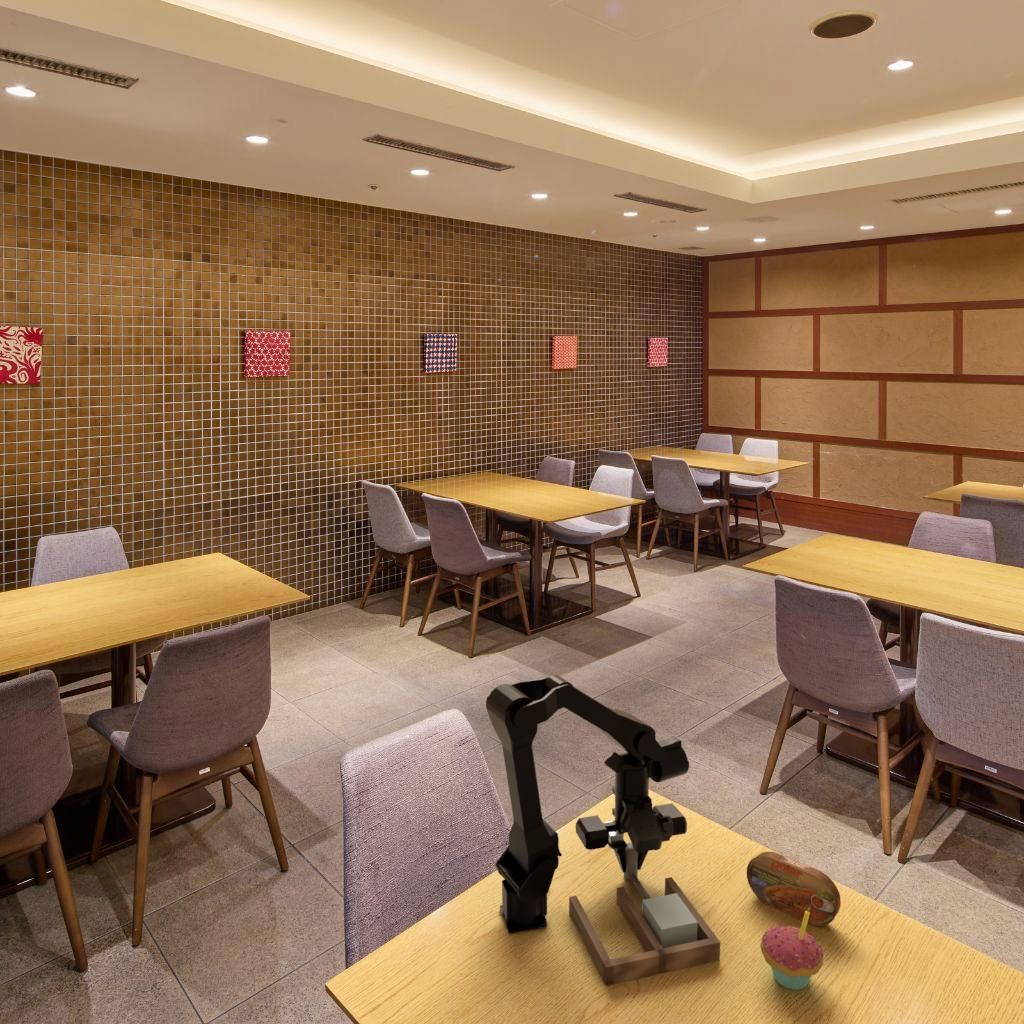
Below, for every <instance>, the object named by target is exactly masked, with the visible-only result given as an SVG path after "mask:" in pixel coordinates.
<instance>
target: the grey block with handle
mask: <svg viewBox="0 0 1024 1024" xmlns="http://www.w3.org/2000/svg"><path fill="white" fill-rule="evenodd" d="M626 844H627V845H628V846H627V847H626V848H625V854H626V872H625V873H623V879H624V881H626V882H628V883H633V884H634V886H635V887H636V889H637V890H638V891H639V893H640V895H641V896H642V898H643V899H642V900H641V902H642V904H641V905H642V906H641V908H642V909H641V914H642V916H643V918H644V919H645V921H646V922H647V924H648V925H649V927H650V928H651V930H652V932H653V933H654V935H655V936H656V938H657V939H658V941H659V943H660V944H661V946H662V947H663V948H667V947H671V946H676V945H681V944H685V943H690V942H694V941H698V940H697V925H698V922H697V921H696V919H695V918H694V916H693V915H692V914H691V912H690V911H689V910H688V908H687V907H686V905H685V904H684V903H683V901H682V900H681V898H680V897H679V896H678V894H677V893H675V894H670V895H665V894H664V895H661V896H655V897H651V896H650V894H649V893H648V891H647V890H646V887H644V885H643V883H642V882H641V881H640V879H639V878H638V876H639V875H638V874H639V872H638V871H639V870H638V852H636V851H635V850H634V848H633V845H632V842H626Z"/></svg>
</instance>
